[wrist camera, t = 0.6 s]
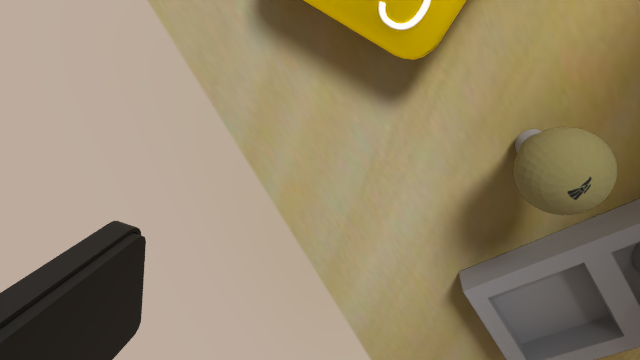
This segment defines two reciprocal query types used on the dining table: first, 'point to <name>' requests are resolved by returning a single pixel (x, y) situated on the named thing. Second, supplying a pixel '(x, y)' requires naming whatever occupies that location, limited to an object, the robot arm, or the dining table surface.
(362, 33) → the element tile
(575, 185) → the light bulb
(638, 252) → the white cylinder
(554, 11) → the dining table surface
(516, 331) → the socket board
